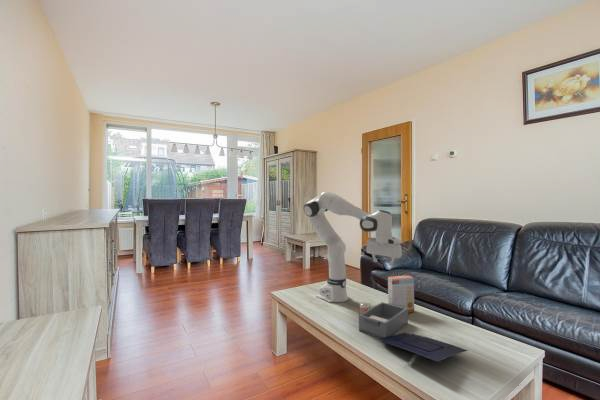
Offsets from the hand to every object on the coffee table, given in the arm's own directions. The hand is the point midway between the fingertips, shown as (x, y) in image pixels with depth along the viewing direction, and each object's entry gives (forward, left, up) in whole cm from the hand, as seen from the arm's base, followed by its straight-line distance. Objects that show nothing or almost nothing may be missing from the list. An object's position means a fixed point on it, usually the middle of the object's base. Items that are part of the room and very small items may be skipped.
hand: (383, 263), depth 161 cm
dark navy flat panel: (+28, -21, -31) cm, 47 cm away
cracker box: (+3, +17, -32) cm, 36 cm away
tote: (+5, -9, -31) cm, 33 cm away
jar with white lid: (-8, -7, -31) cm, 33 cm away
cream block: (+5, -16, -30) cm, 35 cm away
